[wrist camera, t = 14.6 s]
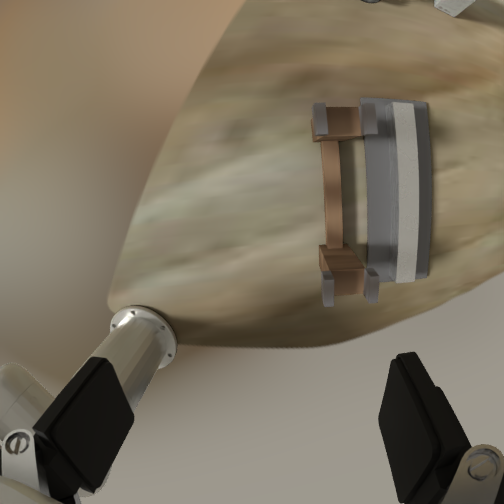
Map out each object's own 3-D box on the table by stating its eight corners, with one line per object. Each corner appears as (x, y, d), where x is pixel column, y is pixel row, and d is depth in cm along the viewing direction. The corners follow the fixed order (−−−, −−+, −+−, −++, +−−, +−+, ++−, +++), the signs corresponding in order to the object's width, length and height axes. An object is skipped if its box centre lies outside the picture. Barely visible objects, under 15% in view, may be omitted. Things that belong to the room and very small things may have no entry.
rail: (407, 273, 41) (414, 281, 38) (389, 275, 41) (395, 283, 38) (404, 107, 34) (413, 103, 31) (385, 105, 34) (392, 102, 31)
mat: (425, 276, 41) (426, 277, 40) (366, 281, 42) (367, 283, 42) (424, 102, 34) (425, 102, 33) (359, 98, 35) (361, 97, 34)
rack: (352, 263, 42) (377, 302, 30) (313, 266, 42) (324, 307, 30) (347, 119, 36) (374, 103, 24) (304, 120, 36) (314, 102, 25)
